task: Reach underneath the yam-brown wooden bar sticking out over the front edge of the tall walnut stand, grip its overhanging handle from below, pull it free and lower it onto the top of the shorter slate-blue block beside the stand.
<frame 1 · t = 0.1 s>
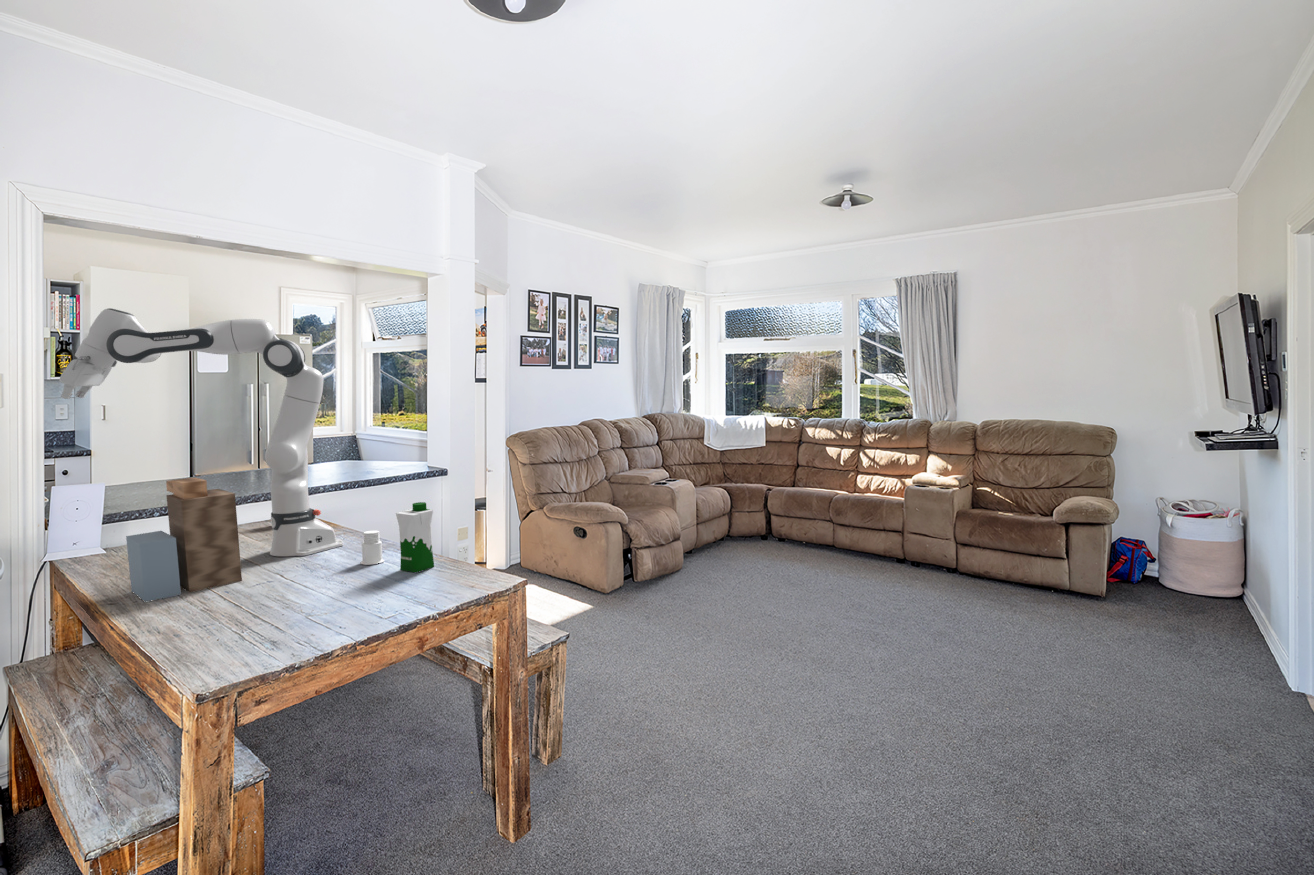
hand: (72, 397, 197), 54 cm above the table, tool tilted 30°, fingers open, 8 cm apart
tuber bar: (185, 493, 190), point 26 cm above the table, touching tall stand
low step: (156, 593, 182), on the table
tall stand: (208, 581, 191), on the table
milk carton: (417, 569, 201), on the table
white pill bottle: (372, 562, 209), on the table
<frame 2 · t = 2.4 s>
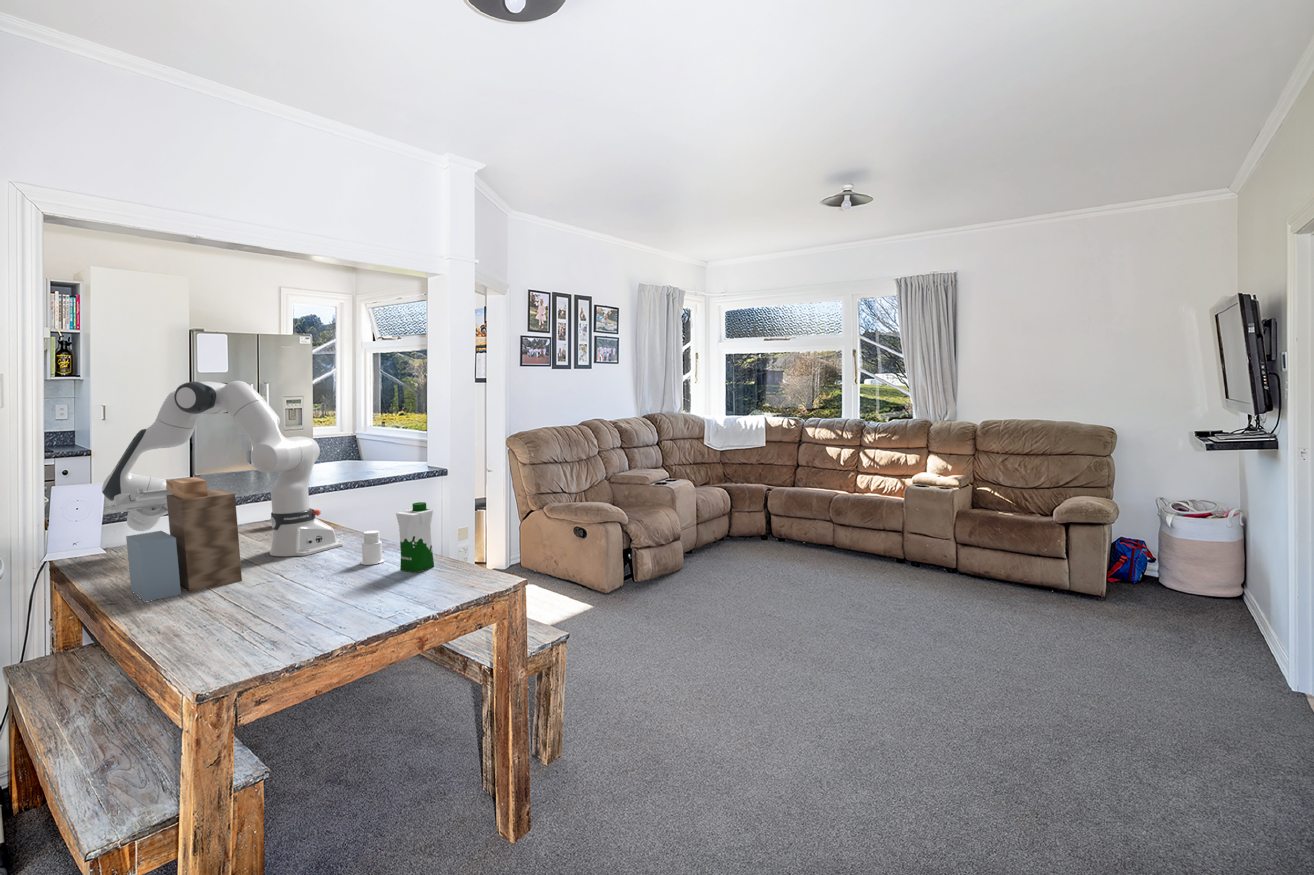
hand: (158, 489, 207), 25 cm above the table, tool pointing upward, fingers open, 8 cm apart
nothing on the table moved.
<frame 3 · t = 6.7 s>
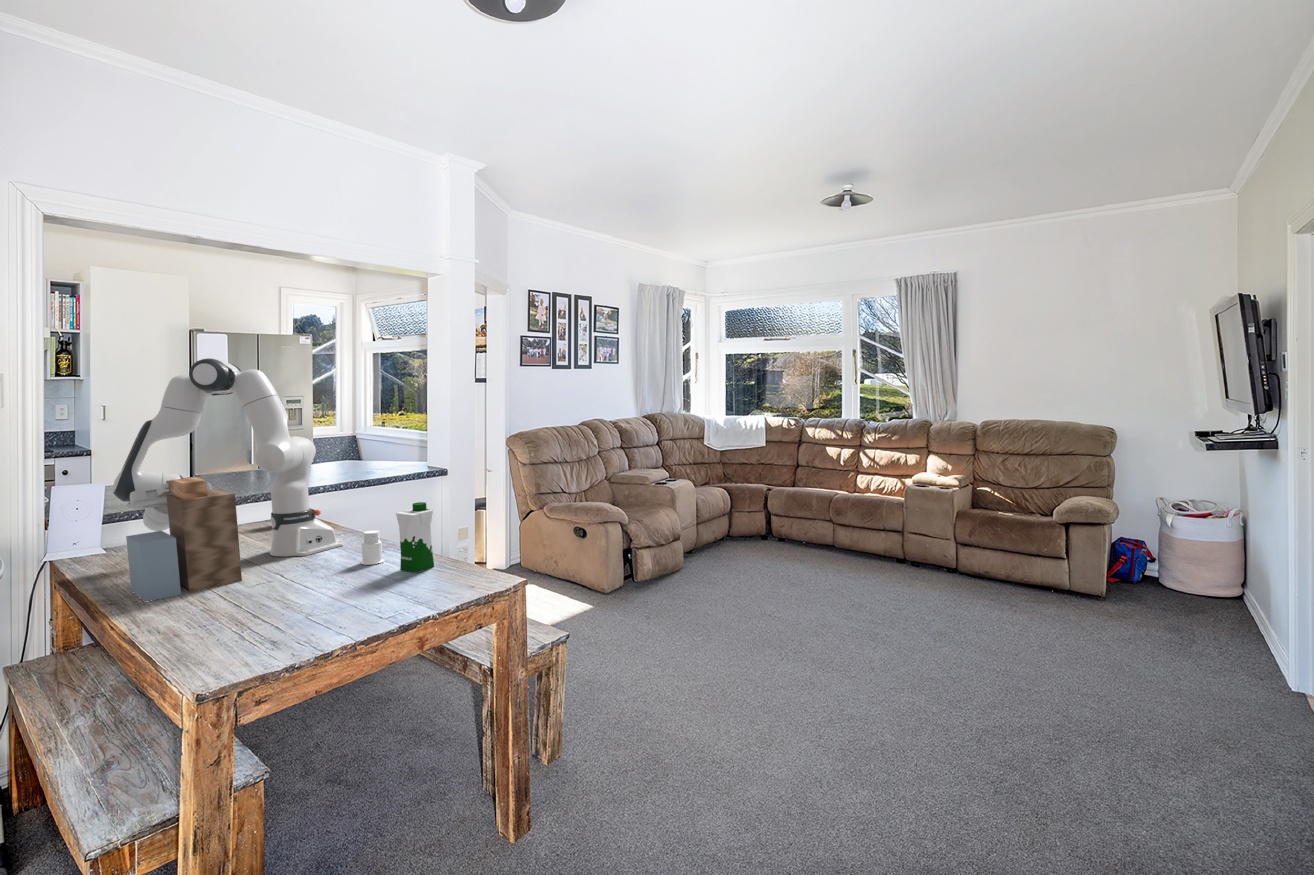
hand: (177, 484, 194), 28 cm above the table, tool pointing upward, fingers closed on tuber bar, 3 cm apart
tuber bar: (185, 493, 190), point 26 cm above the table, touching gripper, tall stand
everything else where it was.
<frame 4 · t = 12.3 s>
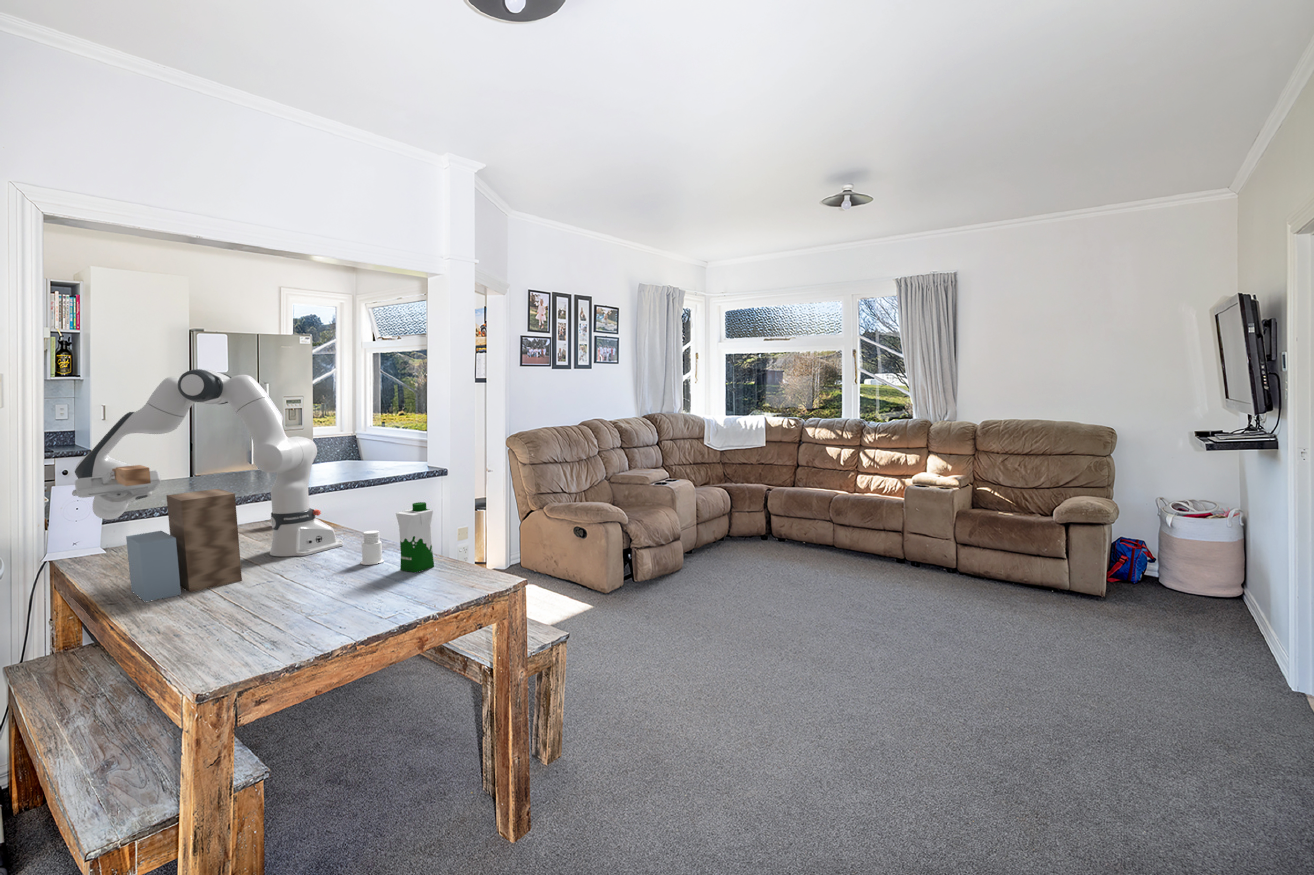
hand: (122, 472, 194), 32 cm above the table, tool pointing upward, fingers closed on tuber bar, 3 cm apart
tuber bar: (129, 481, 190), point 30 cm above the table, touching gripper
everything else where it was.
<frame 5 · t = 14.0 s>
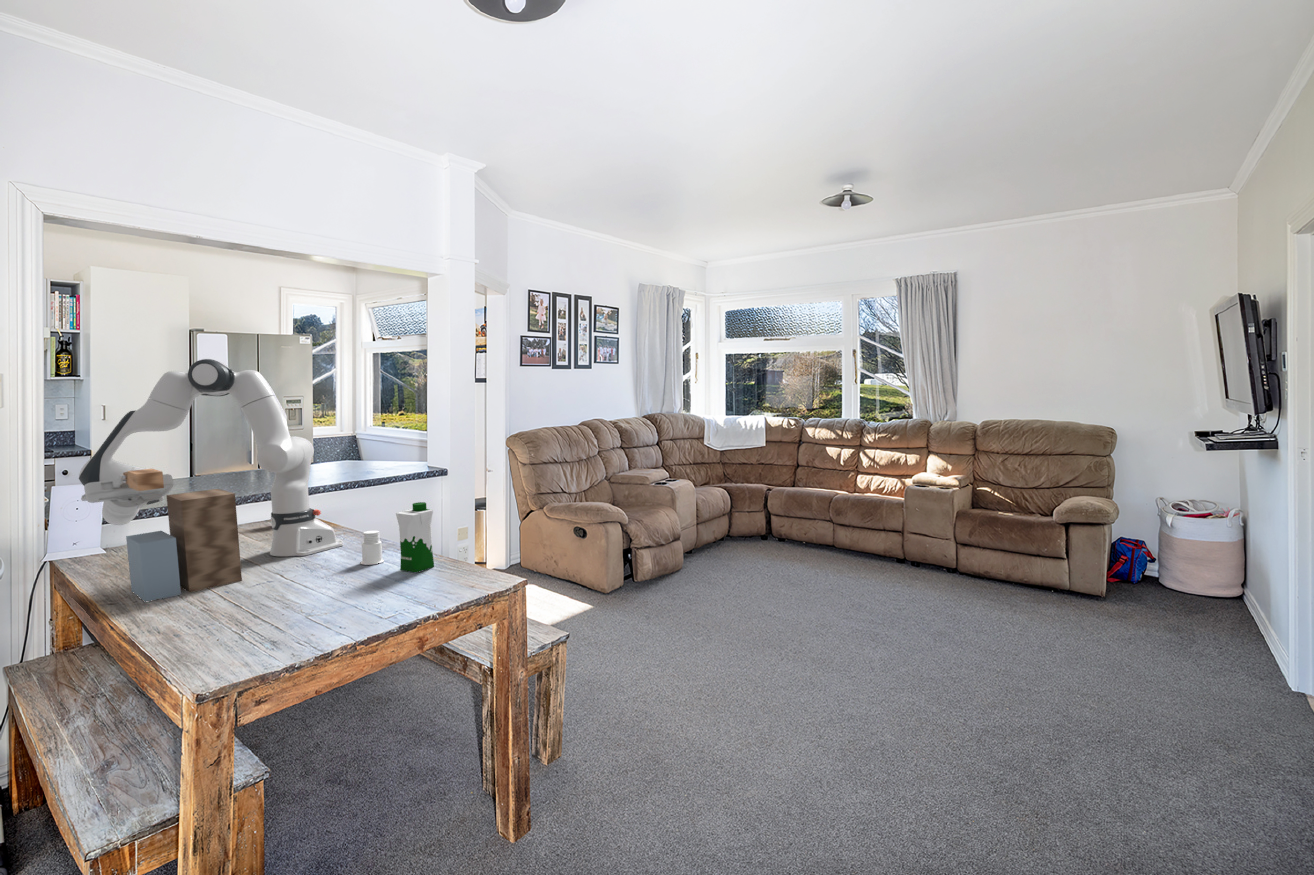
hand: (134, 476, 186), 32 cm above the table, tool pointing upward, fingers closed on tuber bar, 3 cm apart
tuber bar: (141, 485, 181), point 30 cm above the table, touching gripper
everything else where it was.
when the fingers open (19 cm above the table, at t = 18.0 s): tuber bar drops 1 cm, resting on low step.
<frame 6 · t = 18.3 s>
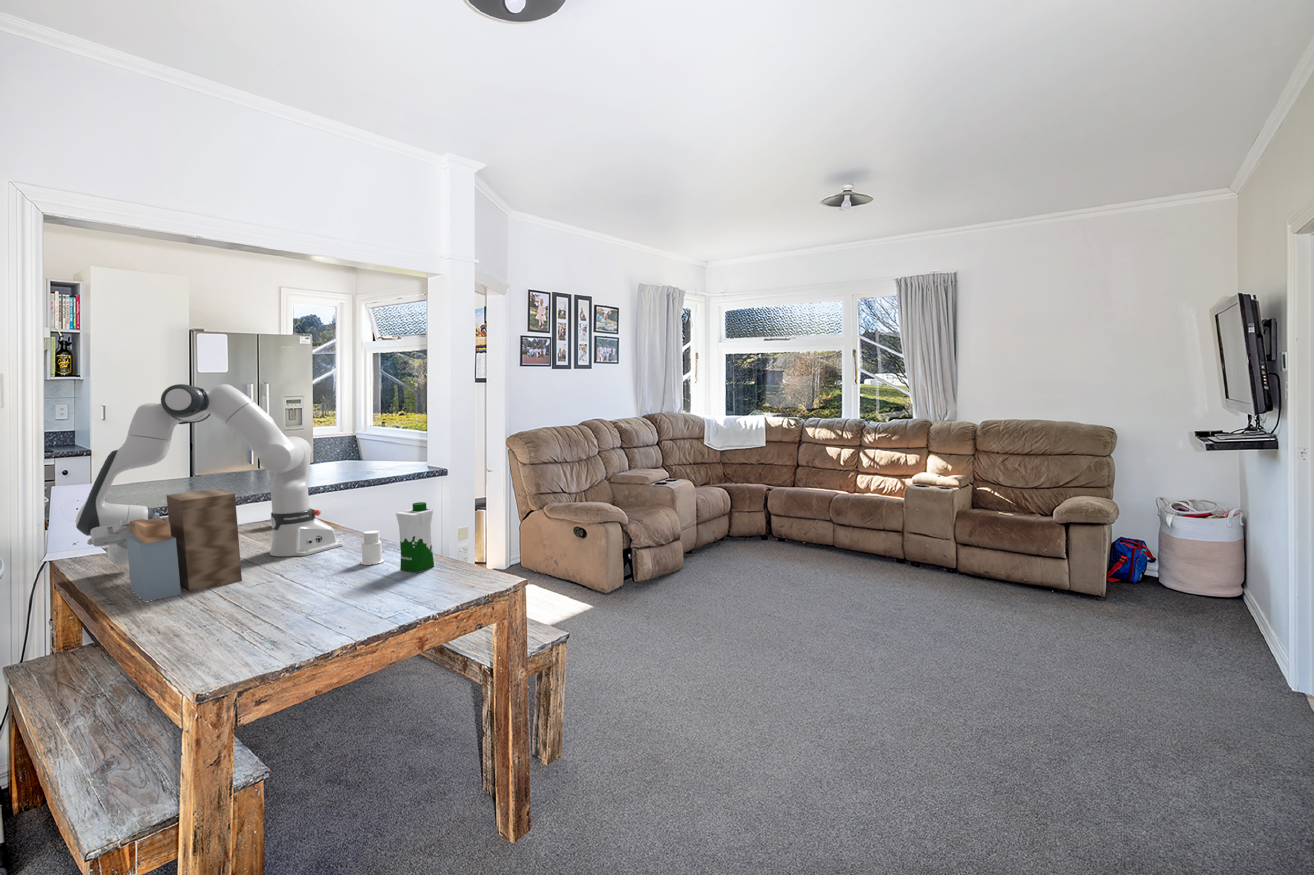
hand: (140, 520, 185), 19 cm above the table, tool pointing upward, fingers open, 6 cm apart
tuber bar: (148, 535, 181), point 16 cm above the table, touching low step
everything else where it was.
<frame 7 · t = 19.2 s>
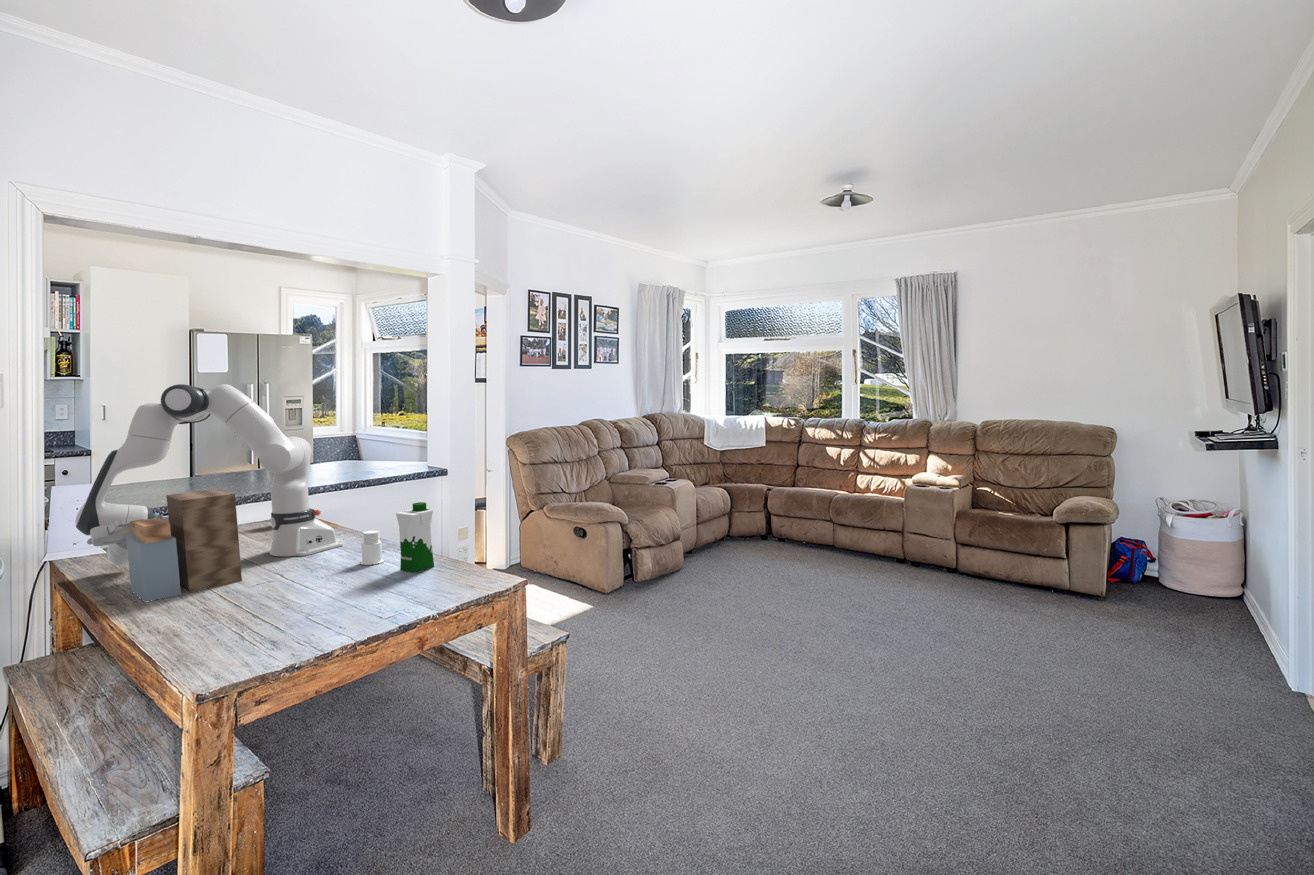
hand: (140, 520, 186), 19 cm above the table, tool pointing upward, fingers open, 8 cm apart
nothing on the table moved.
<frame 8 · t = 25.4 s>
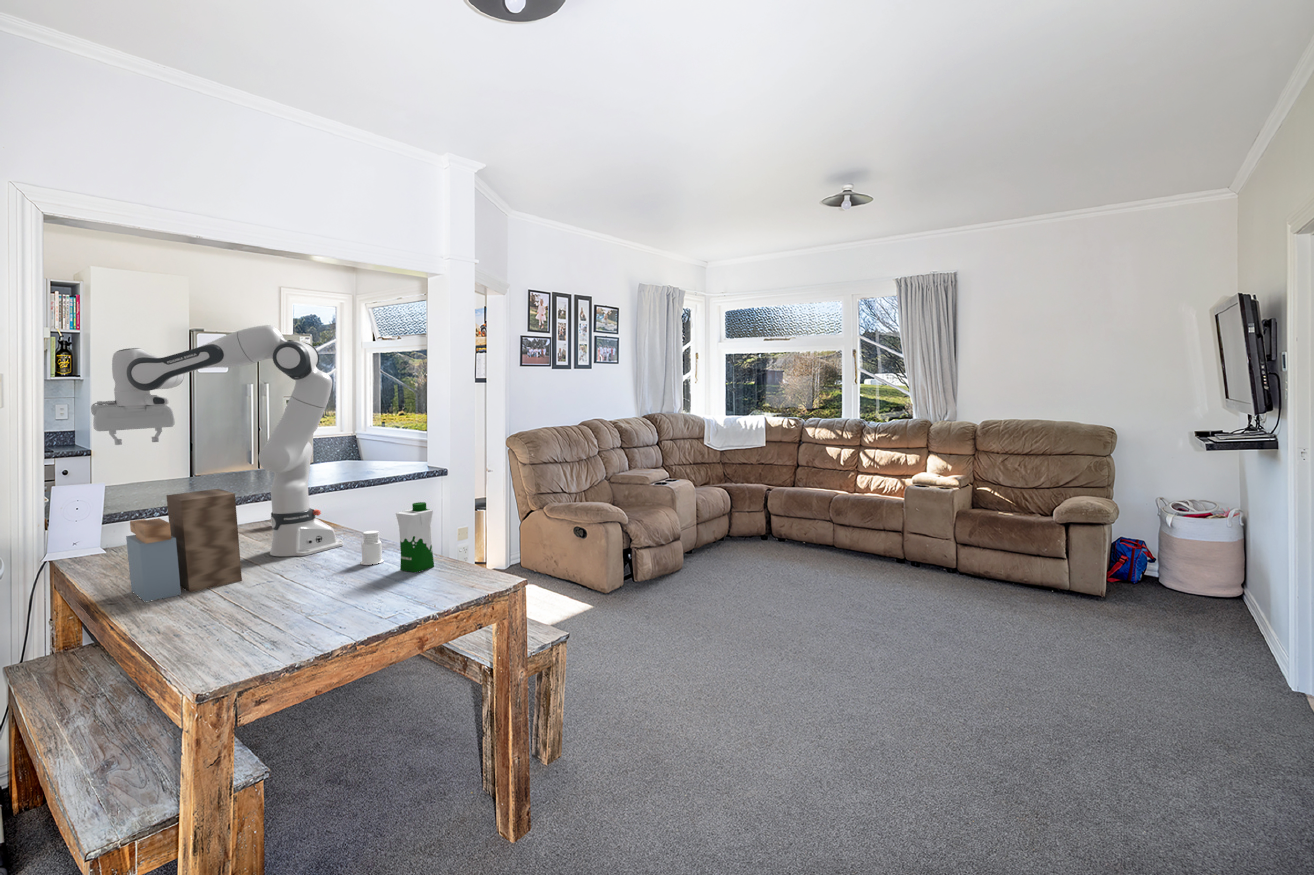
hand: (137, 443, 208), 39 cm above the table, tool pointing down, fingers open, 8 cm apart
nothing on the table moved.
at the end: tuber bar inside the target area on the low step (1.1 cm from its centre), point 16.0 cm above the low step's base; tuber bar touching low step; the gripper is holding nothing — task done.
